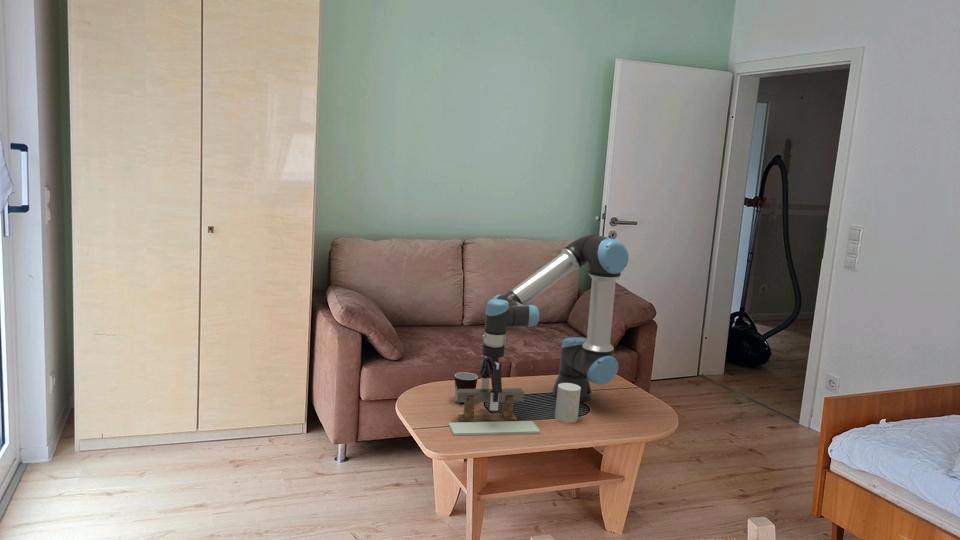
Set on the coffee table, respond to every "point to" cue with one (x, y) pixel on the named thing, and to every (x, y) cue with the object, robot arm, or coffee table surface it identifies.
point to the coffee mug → (465, 381)
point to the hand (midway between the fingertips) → (488, 402)
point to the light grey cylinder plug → (567, 402)
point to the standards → (488, 417)
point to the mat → (493, 428)
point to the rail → (488, 394)
